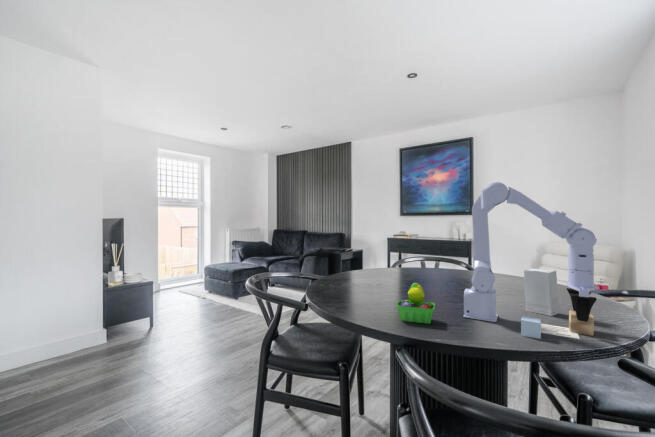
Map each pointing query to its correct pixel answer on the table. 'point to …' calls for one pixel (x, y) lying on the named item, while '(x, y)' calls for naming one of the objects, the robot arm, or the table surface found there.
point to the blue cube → (531, 327)
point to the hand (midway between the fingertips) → (580, 317)
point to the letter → (558, 331)
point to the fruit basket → (415, 306)
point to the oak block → (581, 324)
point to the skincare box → (541, 291)
